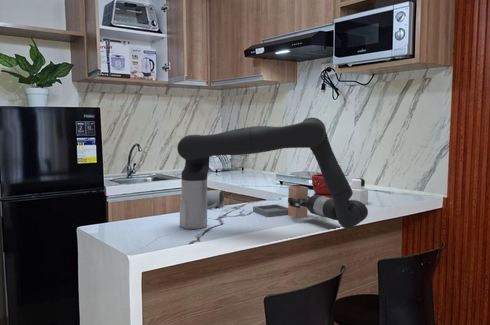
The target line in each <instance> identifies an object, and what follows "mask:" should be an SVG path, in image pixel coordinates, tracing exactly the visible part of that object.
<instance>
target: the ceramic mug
mask: <svg viewBox="0 0 490 325" xmlns="http://www.w3.org/2000/svg"><path fill="white" fill-rule="evenodd" d="M224 204H225V193H224V191H223V190H222V189H217V190H216V189H215V190H213V189H212V190H207V210H212V209H215V208H222V207H223V206H224Z"/></svg>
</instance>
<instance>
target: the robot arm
mask: <svg viewBox="0 0 490 325" xmlns="http://www.w3.org/2000/svg"><path fill="white" fill-rule="evenodd" d="M296 148H297V149H299V148H301V149H305V148H306V149H309V150H310V151H311V152H312V154H313V156H314V158H315V159H316V160H315V161H316V162H317V164H318V166H319V169H320V174H322V176H323V179H324V181H325V184H326V186H327V188H328V190H329V192H330V194H331V196H332V199H331V198H328V197H325V196H321V195H314V194H313V195H311V196H310V195H308V198H299V199H294V198H288V197H287V203H290V204H289V206H292V207H296V208H300V207H304V208H307V209H308V212H309V213H310V214H313V215H315V216H319V217H321V218H327V219H331V220H333V221H338V224H339V226H341V227H342V228H343V229H346V230H351V229H353V228H355V227H357V225H359V223H361V222H363V221H364V220H366V218H367V217H368V215H369V210H368V208H367V206H366V204H363V203H362V202H360V201H356V200H349V199H350V198H351V196H352V194H353V192H352V189H351V188H352V187H351V184H350V183H349V181H348V179H347V178H346V175H345V173H344V171H343V170H342V168H341V165H340V164H339V162H338V160H337V157H336V155H335V154H334V151H333V149H332V146H331V143H330V141H329V137H328V133H327V129H326V125H325V123H324V122H323V121H322V120H321V119H319V118H317V117H308V118H305V119H304V120H303V121H301V122H298V123H294V124H289V125H283V126H267V125H256V126H254V125H253V126H248V127H247V126H246V127H241V128H235V129H231V130H227V131H223V132H219V133H215V134H205V135H202V134H189V135H188V134H187V135H186V136H184V137H182V138H181V139H180V140H179V142H178V143H177V148H176V149H177V150H176V151H177V153H178V156H180V157H181V159H183V160H185V162H184V163H185V164H184V167H183V170H182V171H181V175H180V176H181V178H180V179H181V199H179V226H180V227H181V228H183V229H184V230H185V229H186V230H187V229H188V230H189V229H190V230H191V229H192V230H194V229H195V230H197V229H204V228H206V227H208V209H207V191H208V174H209V171H210V157H215V156H243V155H254V154H261V153H266V152H267V153H268V152H272V151H277V150H278V151H279V150H282V149H296ZM301 200H302V203H301Z"/></svg>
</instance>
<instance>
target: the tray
mask: <svg viewBox="0 0 490 325" xmlns="http://www.w3.org/2000/svg"><path fill="white" fill-rule="evenodd" d="M252 212H253V213H255V212H256V214H258V215H261V216H263V217H266V218H271V217H280V216H288V206H284V205H280V204H277V203H275V204H267V205H264V204H263V205H254V206H252Z"/></svg>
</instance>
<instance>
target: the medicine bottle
mask: <svg viewBox="0 0 490 325" xmlns="http://www.w3.org/2000/svg"><path fill="white" fill-rule="evenodd" d="M365 184H366V181H365V179H364V178H352V179H351V185H350V187H351V189H352V192H353V194H352V196H351V198H350V199H349V200H356V201H360V202H362V203H363V204H364V205H367V204H368V203H369V189H368V188H365V187H366V186H365Z"/></svg>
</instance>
